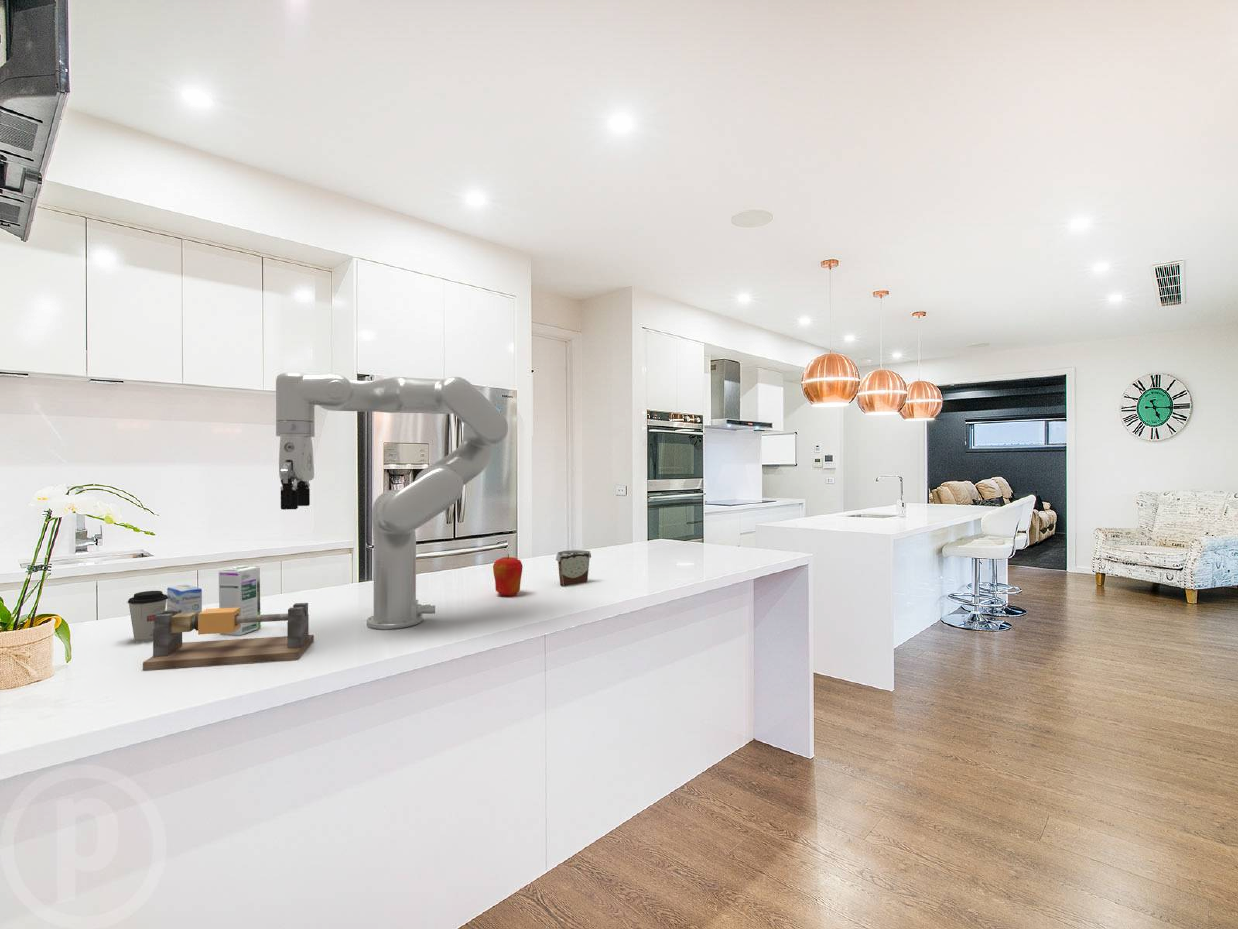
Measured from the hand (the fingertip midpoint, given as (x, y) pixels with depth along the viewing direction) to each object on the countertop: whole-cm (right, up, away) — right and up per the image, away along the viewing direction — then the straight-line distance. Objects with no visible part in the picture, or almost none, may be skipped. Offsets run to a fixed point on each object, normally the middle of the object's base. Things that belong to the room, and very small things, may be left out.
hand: (295, 507), depth 133 cm
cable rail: (-5, -28, -13) cm, 32 cm away
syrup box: (-14, -28, +3) cm, 32 cm away
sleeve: (-7, -23, -14) cm, 28 cm away
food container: (+56, -28, +57) cm, 85 cm away
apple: (+39, -28, +41) cm, 63 cm away
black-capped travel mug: (-30, -28, -3) cm, 42 cm away
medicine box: (-31, -28, +9) cm, 43 cm away
